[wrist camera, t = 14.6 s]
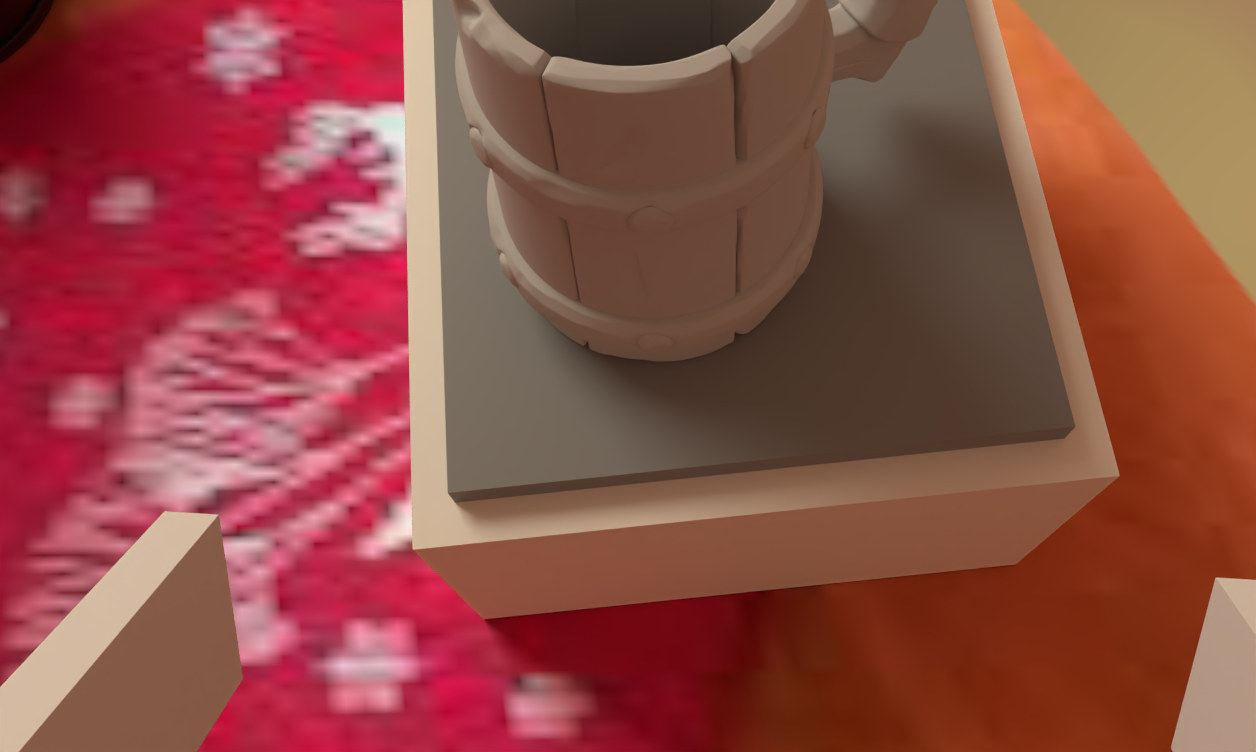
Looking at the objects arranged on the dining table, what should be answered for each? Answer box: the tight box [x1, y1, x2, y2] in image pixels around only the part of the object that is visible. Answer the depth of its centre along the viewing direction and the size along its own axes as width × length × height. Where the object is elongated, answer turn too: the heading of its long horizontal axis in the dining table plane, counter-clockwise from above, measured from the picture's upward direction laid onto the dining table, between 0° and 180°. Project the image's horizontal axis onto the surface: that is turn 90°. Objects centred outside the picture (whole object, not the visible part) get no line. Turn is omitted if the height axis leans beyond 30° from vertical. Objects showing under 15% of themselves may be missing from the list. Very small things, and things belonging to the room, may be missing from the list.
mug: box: [450, 0, 938, 362], centre depth 22 cm, size 8×12×12 cm, turn 125°
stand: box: [403, 0, 1120, 619], centre depth 32 cm, size 16×16×10 cm
